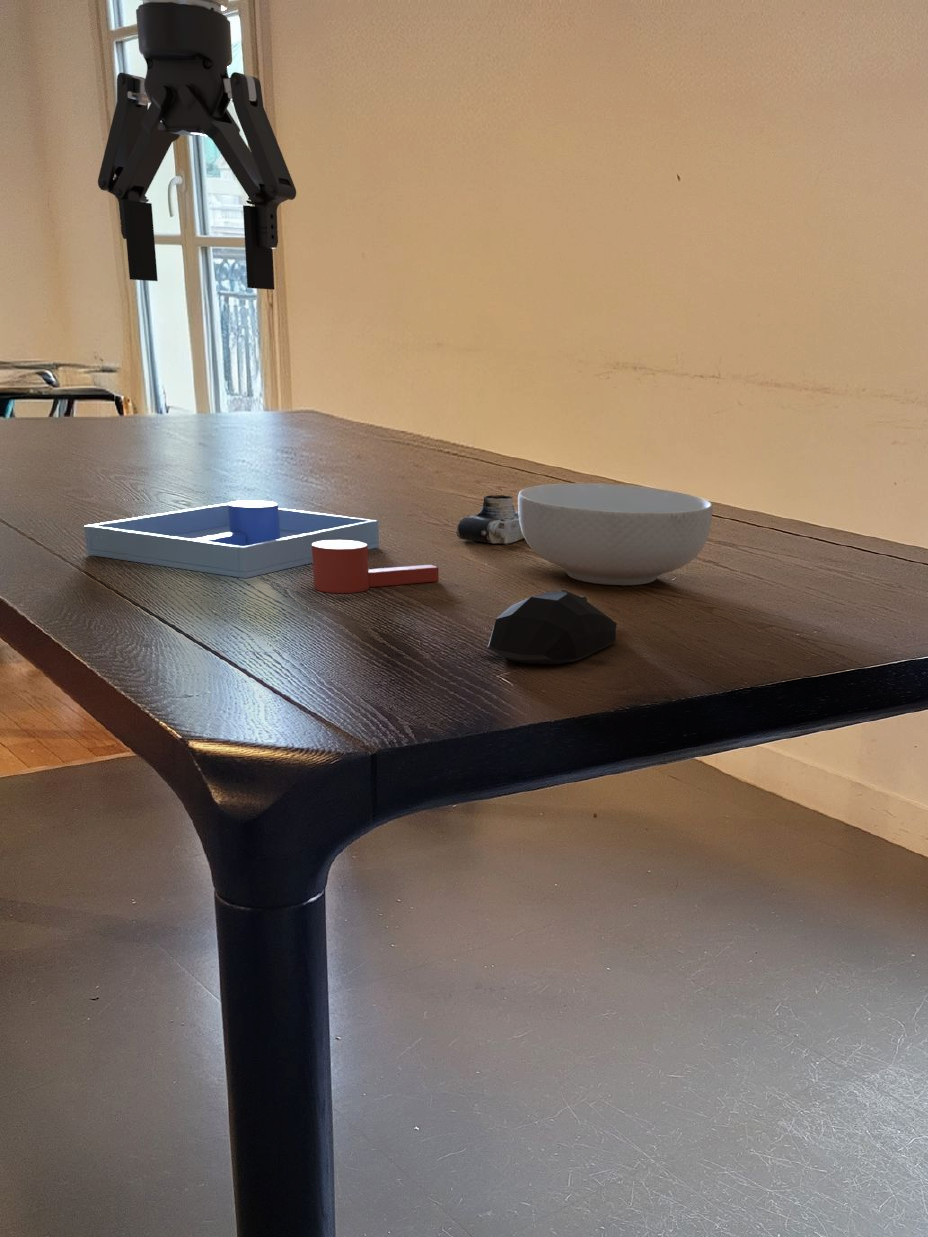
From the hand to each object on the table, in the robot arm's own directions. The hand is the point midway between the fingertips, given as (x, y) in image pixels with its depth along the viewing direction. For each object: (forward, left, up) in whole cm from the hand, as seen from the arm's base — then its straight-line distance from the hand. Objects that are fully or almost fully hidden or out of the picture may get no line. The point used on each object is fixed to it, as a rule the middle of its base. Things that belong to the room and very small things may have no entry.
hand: (201, 285), depth 117 cm
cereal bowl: (+40, +4, -22) cm, 46 cm away
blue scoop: (+7, -7, -22) cm, 24 cm away
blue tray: (+7, -6, -22) cm, 24 cm away
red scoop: (+26, -11, -22) cm, 36 cm away
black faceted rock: (+48, -21, -22) cm, 57 cm away
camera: (+22, +16, -22) cm, 35 cm away
